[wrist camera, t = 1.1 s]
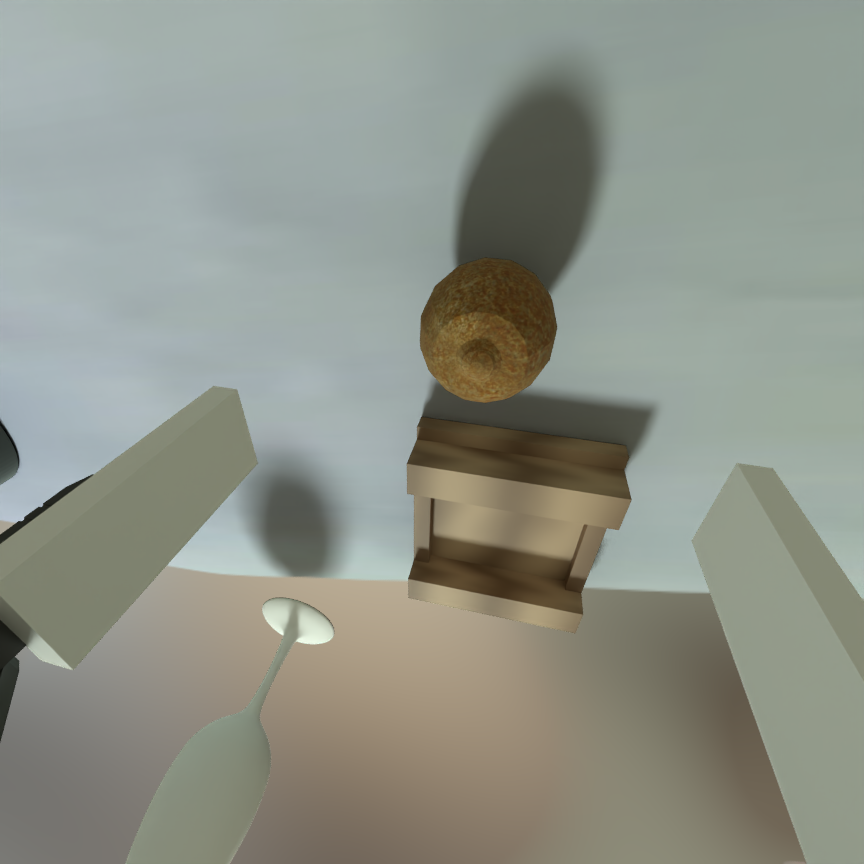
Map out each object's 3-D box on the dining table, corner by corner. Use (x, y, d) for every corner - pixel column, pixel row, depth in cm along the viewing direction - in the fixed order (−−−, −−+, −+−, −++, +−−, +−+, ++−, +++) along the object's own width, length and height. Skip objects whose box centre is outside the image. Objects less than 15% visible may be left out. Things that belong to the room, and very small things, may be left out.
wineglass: (313, 596, 44) (171, 880, 27) (347, 642, 48) (242, 913, 31) (249, 596, 47) (85, 852, 30) (286, 640, 51) (161, 886, 34)
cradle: (419, 566, 37) (408, 605, 34) (421, 416, 28) (406, 450, 25) (569, 596, 35) (572, 640, 32) (625, 445, 26) (637, 486, 23)
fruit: (499, 376, 25) (484, 458, 19) (417, 308, 24) (370, 371, 17) (581, 297, 22) (597, 364, 15) (490, 212, 20) (466, 247, 14)
